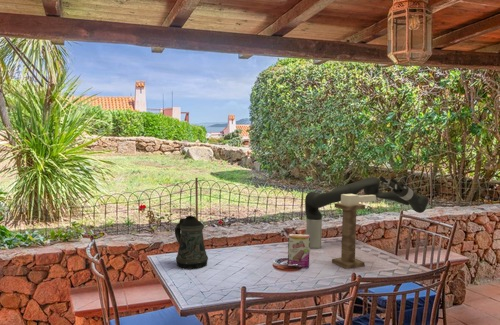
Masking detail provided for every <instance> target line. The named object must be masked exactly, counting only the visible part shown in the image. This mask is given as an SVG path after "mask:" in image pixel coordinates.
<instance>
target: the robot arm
mask: <svg viewBox="0 0 500 325" xmlns="http://www.w3.org/2000/svg"><path fill="white" fill-rule="evenodd" d="M380 182H381V183H380ZM380 184H382V185H384V186H385V187H386V188H390V189H392V191H387V192H383V191H380ZM362 190H363V193H364V195H376V199H383V200H388V201H393V202H396V203H399V204H402V205H404V206H410V207H411V208H412V210H413V211H414V212H416V213H417V214H418V213H419V214H423V213H424V212H425V211H426V208H427V205H428V203H429V201H430V200H429V197H427V196H426V195H423V194H417V193H416V191H414V190H412V189H411V188H410V187H409V186H407V184H405V183H403V182H402V181H399V180H396V179H395V178H393V177H391V178H390V179H389V180H388V179H386V178H385V177H383V175H382V176H379V178H377V177H375V176H374V177H373V176H372V177H366V178H364V179H361V180H358V181H355V182H351V183H347V184H343V185H339V186H337V187H335V188H334V189H332V190H331V191H327V192H316V191H309V192H307V194H306V196H305V199H304V210H305V212H304V213H305V216H306V223H305V224H306V226H305V227H306V228H305V229H306V230H305V229H304V235H310V249H321V248H322V231H323V230H322V228H323V227H322V226H323V221H322V220H323V214H322V213H321V212H320V208H323V207H326V206H328V205H331V204H336V203H339V202H340V203H341V194H355V195H359V194H358V193H360V192H361V191H362Z"/></svg>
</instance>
